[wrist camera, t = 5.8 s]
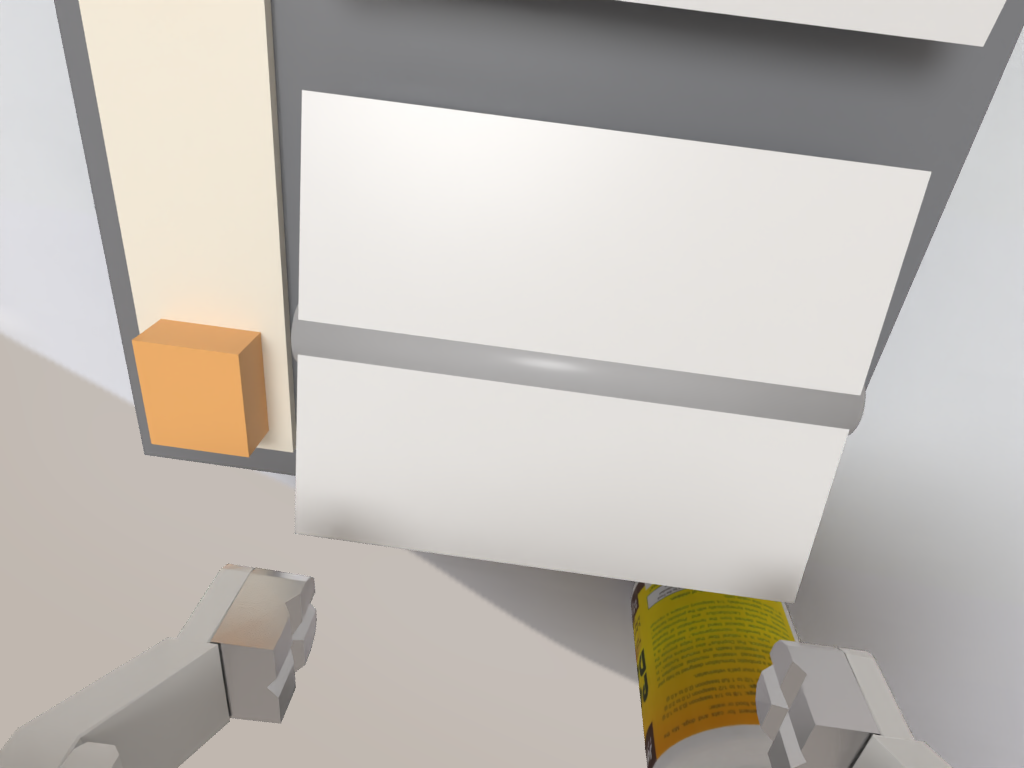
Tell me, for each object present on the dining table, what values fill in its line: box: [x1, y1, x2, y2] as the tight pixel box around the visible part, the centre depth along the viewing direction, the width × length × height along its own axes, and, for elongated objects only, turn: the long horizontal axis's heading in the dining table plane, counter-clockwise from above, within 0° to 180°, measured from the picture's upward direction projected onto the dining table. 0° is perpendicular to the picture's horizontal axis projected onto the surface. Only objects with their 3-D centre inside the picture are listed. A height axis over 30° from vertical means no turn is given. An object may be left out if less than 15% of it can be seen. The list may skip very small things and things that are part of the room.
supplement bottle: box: [631, 582, 799, 768], centre depth 21 cm, size 6×6×10 cm
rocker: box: [291, 90, 931, 604], centre depth 13 cm, size 11×9×1 cm
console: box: [54, 0, 1024, 476], centre depth 14 cm, size 18×22×6 cm
